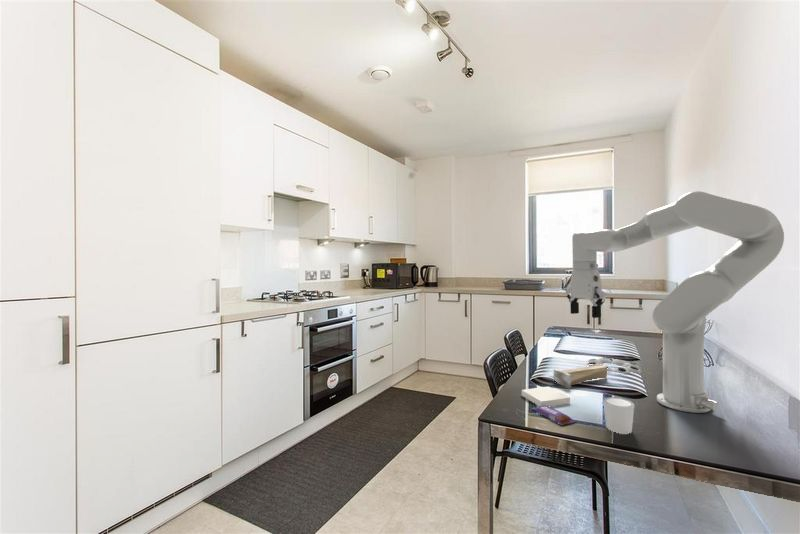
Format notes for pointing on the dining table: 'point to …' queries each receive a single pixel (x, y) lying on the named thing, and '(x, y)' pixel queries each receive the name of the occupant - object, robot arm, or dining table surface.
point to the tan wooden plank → (579, 375)
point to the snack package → (554, 415)
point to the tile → (545, 396)
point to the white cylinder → (618, 414)
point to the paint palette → (618, 362)
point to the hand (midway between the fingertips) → (585, 315)
